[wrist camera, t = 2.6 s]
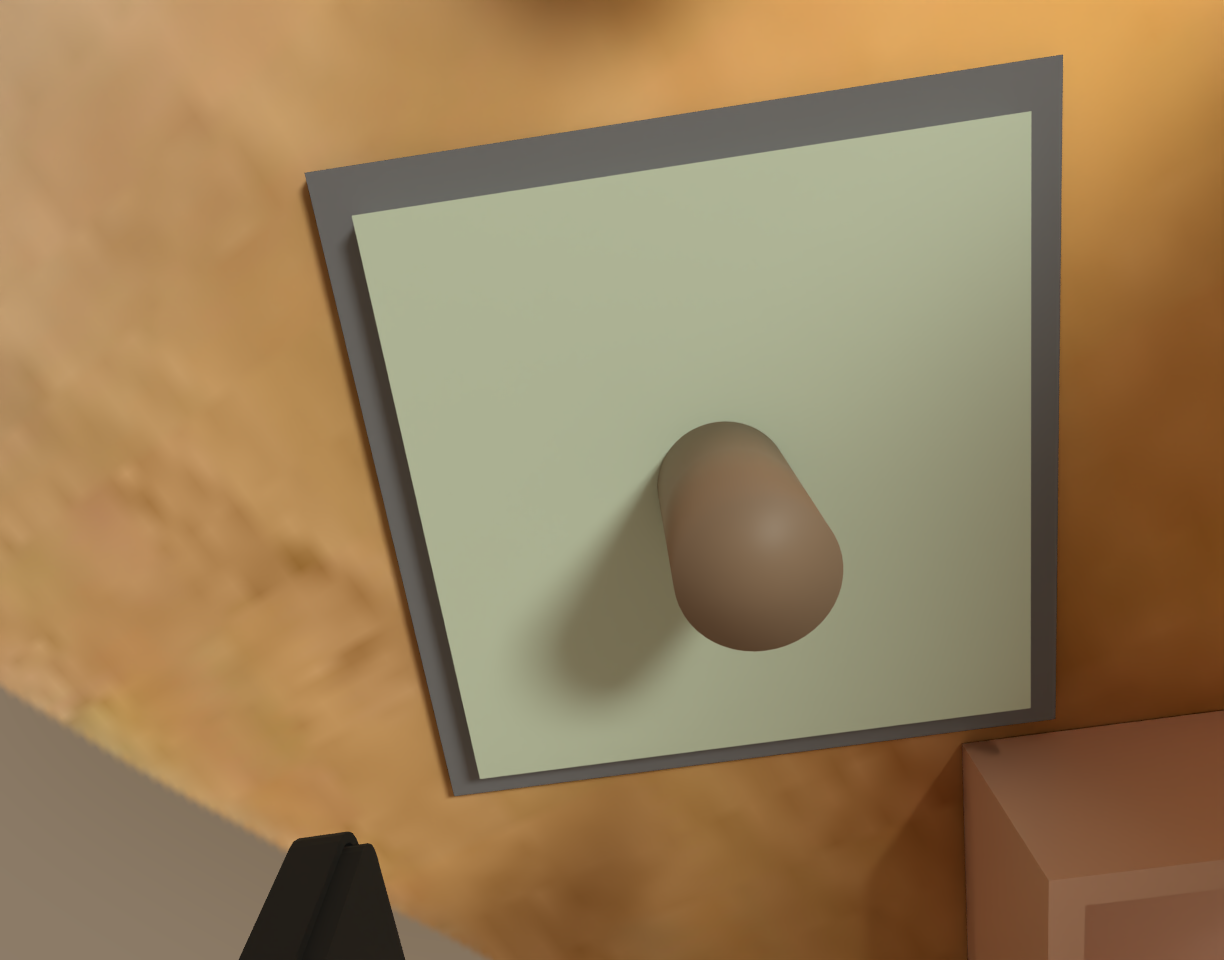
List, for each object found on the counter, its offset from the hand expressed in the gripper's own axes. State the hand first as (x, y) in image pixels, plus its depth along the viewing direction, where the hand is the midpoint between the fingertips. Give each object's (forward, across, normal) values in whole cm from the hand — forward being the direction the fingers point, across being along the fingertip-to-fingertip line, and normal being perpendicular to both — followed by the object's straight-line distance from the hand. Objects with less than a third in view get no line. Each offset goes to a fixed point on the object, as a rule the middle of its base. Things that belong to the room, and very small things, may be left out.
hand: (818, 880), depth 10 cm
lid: (+13, -1, 0) cm, 13 cm away
